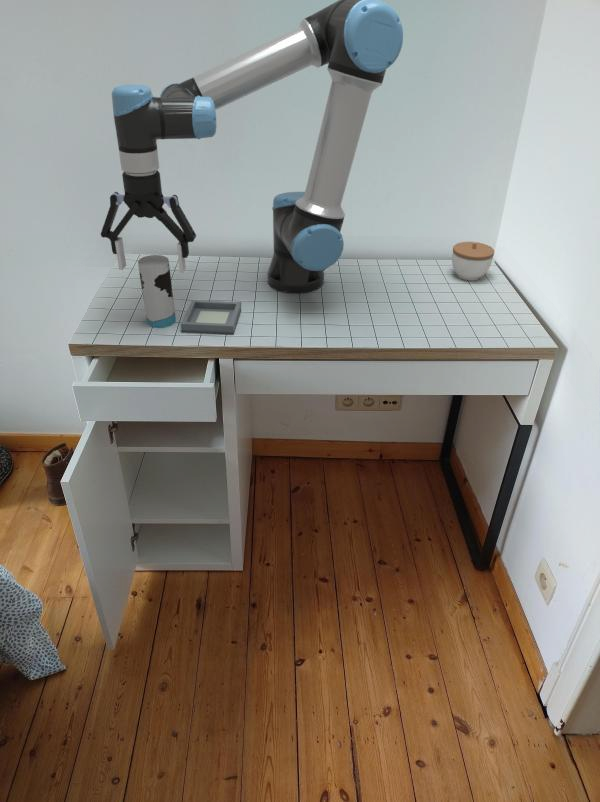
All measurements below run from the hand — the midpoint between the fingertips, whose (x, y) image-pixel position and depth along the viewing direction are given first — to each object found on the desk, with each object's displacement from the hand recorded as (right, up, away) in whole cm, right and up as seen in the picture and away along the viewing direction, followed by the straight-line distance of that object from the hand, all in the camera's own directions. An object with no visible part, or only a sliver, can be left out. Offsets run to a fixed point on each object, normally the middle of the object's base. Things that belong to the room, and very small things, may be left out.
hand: (152, 269), depth 136 cm
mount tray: (+12, -11, +8) cm, 18 cm away
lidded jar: (+79, +5, +31) cm, 85 cm away
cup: (0, -11, +8) cm, 13 cm away
